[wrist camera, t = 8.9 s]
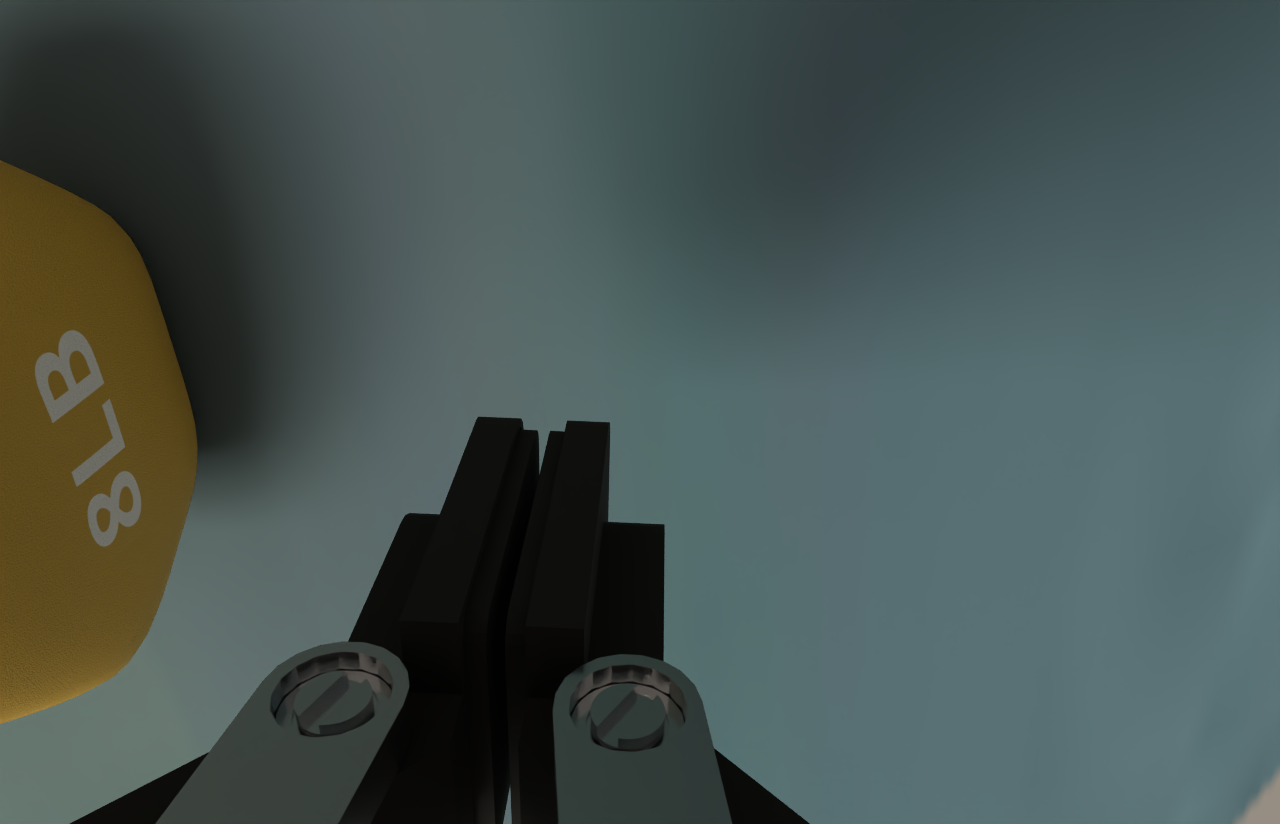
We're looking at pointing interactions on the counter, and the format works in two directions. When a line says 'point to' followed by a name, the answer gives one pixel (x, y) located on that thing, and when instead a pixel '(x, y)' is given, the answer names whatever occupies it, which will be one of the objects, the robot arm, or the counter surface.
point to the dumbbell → (81, 446)
